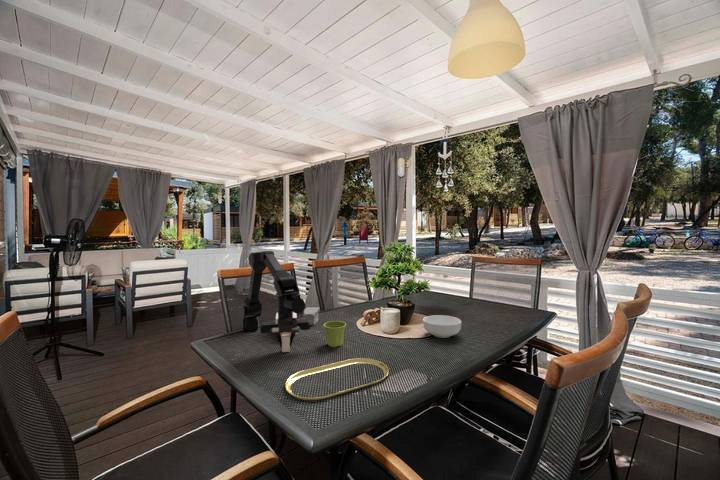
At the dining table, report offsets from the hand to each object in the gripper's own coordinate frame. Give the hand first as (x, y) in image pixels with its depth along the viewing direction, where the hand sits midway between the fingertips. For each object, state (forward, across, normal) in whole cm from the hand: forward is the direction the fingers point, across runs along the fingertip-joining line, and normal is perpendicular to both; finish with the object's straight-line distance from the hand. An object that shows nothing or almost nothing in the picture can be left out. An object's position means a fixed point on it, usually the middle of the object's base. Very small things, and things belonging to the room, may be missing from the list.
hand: (285, 347), depth 126 cm
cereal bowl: (+2, +69, +4) cm, 69 cm away
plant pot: (+2, +20, +3) cm, 20 cm away
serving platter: (+2, +17, -27) cm, 32 cm away
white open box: (+2, 0, +24) cm, 24 cm away
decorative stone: (+2, +12, +36) cm, 38 cm away
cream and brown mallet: (+2, 0, +8) cm, 8 cm away
